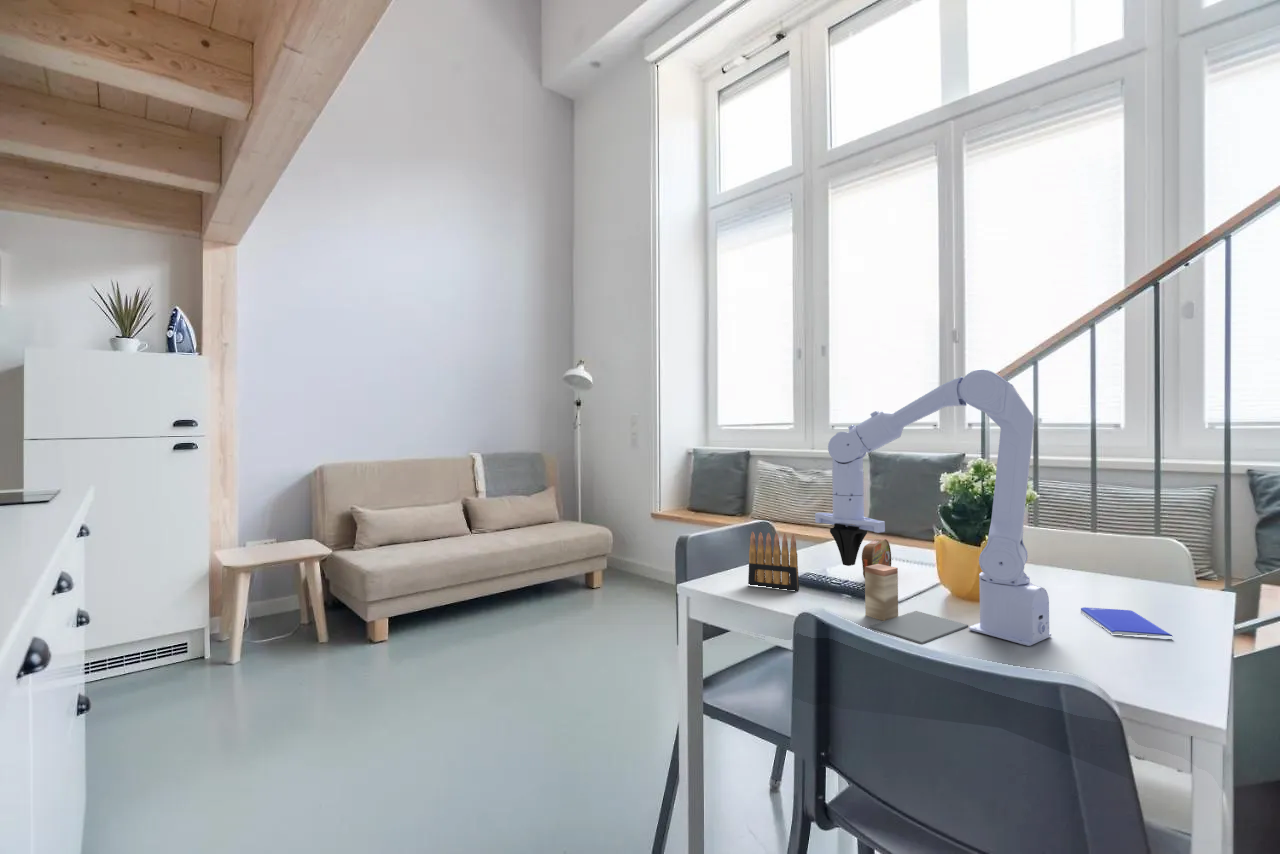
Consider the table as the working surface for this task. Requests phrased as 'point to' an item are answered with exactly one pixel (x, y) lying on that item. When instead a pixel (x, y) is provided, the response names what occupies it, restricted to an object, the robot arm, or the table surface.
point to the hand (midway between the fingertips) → (848, 564)
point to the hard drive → (1123, 622)
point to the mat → (918, 626)
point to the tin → (876, 554)
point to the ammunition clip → (773, 563)
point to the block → (881, 592)
